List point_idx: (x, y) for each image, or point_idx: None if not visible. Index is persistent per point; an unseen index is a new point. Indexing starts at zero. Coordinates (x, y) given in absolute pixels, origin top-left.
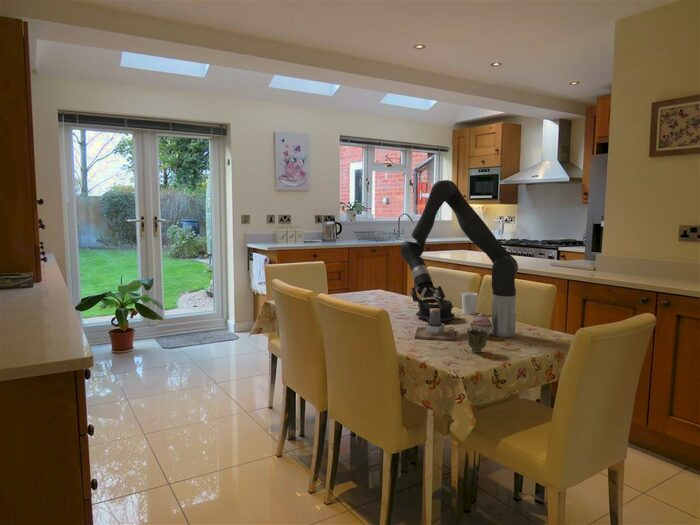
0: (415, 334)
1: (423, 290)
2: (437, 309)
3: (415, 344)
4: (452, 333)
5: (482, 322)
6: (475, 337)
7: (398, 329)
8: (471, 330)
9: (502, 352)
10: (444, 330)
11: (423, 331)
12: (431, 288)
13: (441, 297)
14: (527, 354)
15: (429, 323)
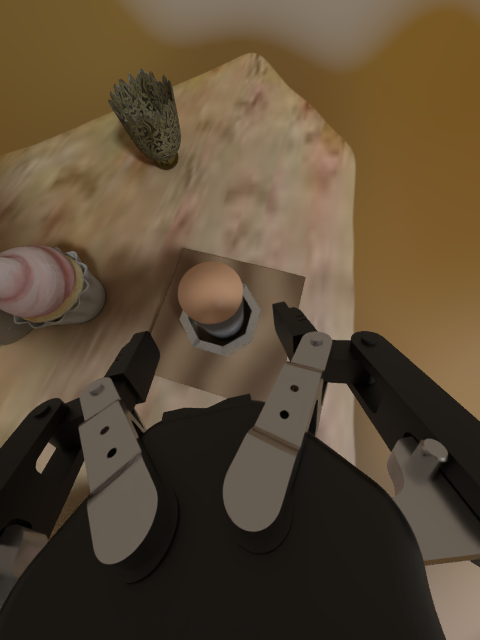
0: (299, 299)
1: (288, 441)
2: (197, 280)
3: (308, 225)
4: (168, 305)
5: (42, 246)
6: (161, 87)
7: (350, 413)
8: (148, 117)
9: (108, 161)
10: (182, 347)
11: (263, 338)
12: (111, 511)
13: (86, 390)
14: (62, 149)
15: (239, 337)
